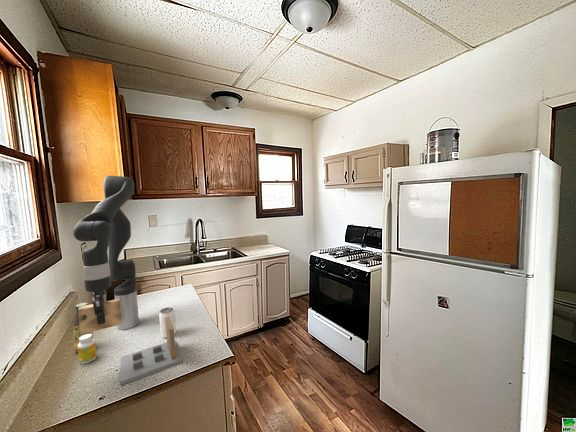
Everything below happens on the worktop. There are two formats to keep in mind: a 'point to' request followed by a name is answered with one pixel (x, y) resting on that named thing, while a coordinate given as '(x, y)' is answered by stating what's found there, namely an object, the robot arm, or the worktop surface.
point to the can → (163, 314)
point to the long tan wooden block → (90, 319)
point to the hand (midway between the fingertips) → (102, 321)
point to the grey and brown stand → (151, 358)
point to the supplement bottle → (86, 349)
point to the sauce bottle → (78, 328)
